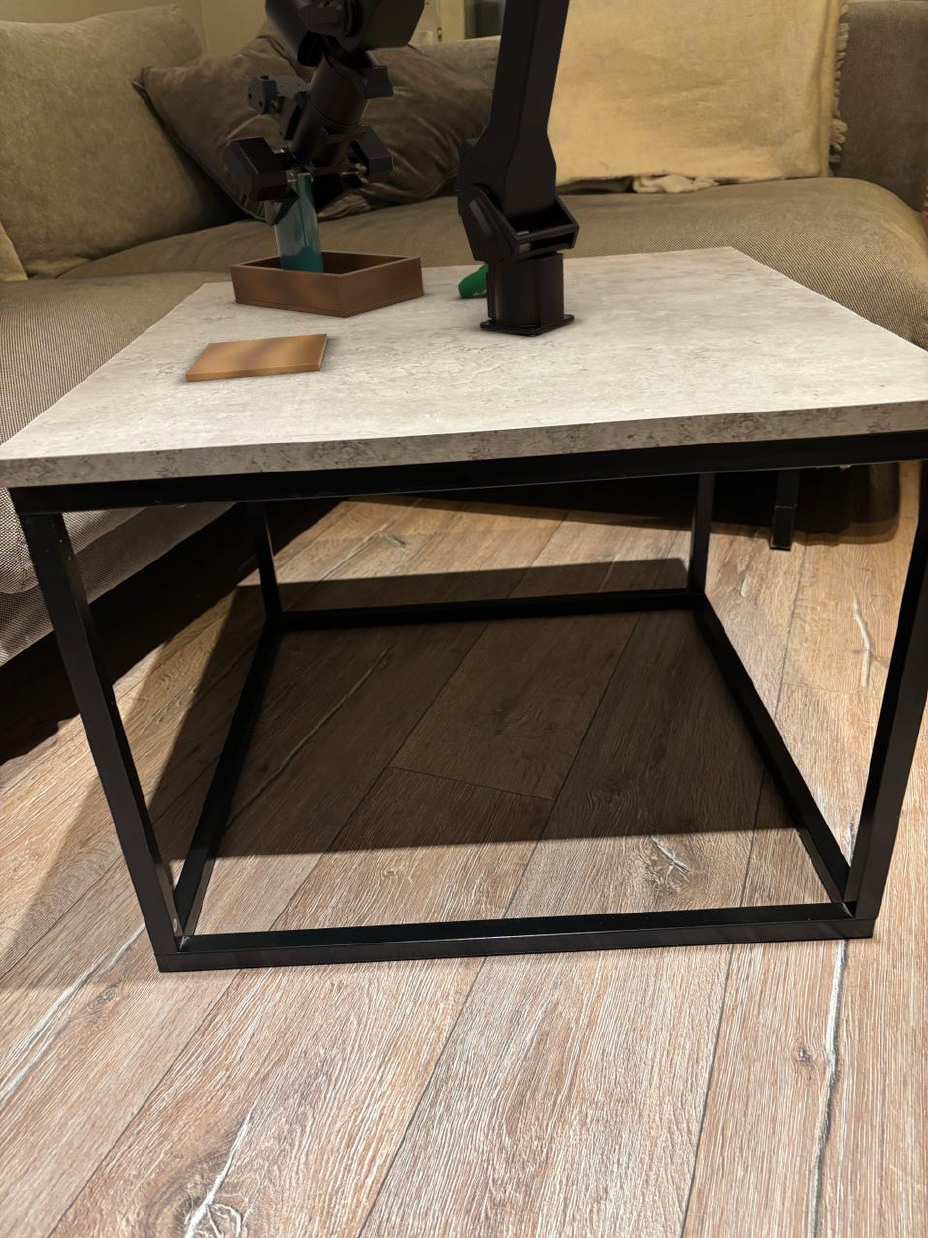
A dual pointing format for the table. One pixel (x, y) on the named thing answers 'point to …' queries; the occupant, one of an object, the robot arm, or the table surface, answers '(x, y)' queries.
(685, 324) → the table surface
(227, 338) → the table surface
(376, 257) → the basket
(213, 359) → the mat
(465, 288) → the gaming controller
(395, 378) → the table surface
